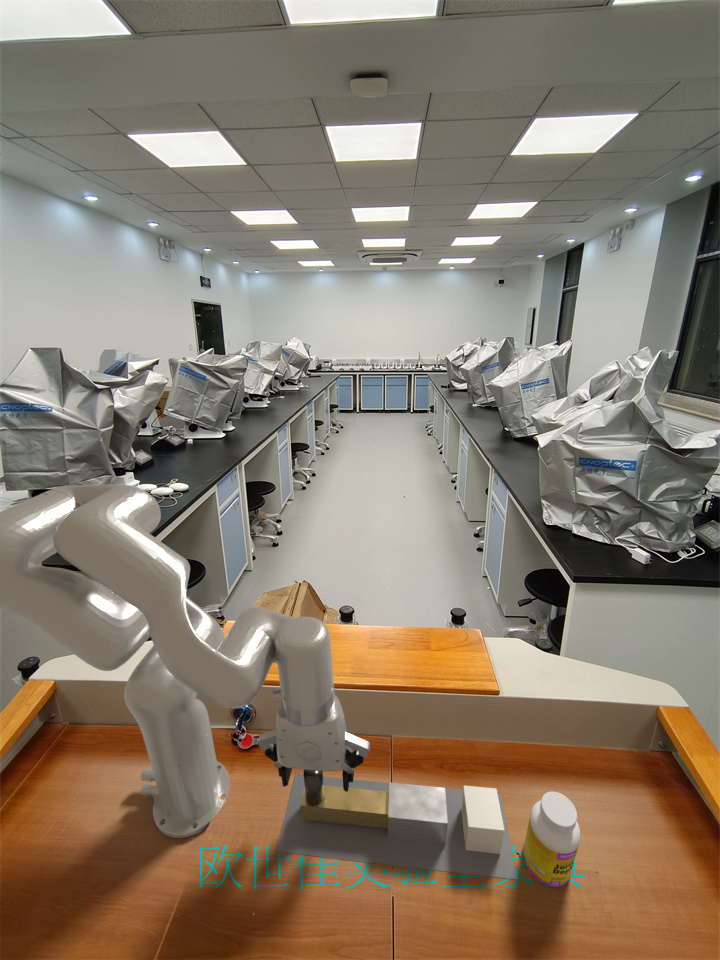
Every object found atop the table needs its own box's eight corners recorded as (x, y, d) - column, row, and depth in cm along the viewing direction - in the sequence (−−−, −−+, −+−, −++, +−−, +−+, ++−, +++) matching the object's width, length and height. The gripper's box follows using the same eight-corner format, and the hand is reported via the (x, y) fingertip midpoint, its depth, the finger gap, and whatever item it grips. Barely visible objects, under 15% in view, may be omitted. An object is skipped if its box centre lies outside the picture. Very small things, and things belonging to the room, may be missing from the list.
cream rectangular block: (465, 850, 65) (468, 826, 63) (461, 808, 71) (463, 785, 69) (500, 853, 65) (504, 830, 63) (493, 811, 70) (496, 788, 68)
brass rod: (301, 819, 69) (298, 781, 65) (306, 797, 72) (303, 760, 69) (439, 834, 66) (442, 795, 63) (437, 810, 70) (440, 773, 66)
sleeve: (387, 838, 67) (388, 817, 65) (389, 803, 71) (389, 782, 70) (445, 844, 66) (447, 823, 64) (443, 808, 71) (444, 787, 69)
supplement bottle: (548, 902, 60) (562, 845, 56) (512, 853, 66) (523, 798, 61) (579, 875, 63) (595, 819, 58) (543, 830, 68) (555, 776, 64)
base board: (277, 856, 66) (276, 851, 65) (295, 778, 77) (295, 773, 76) (516, 884, 62) (517, 879, 62) (499, 798, 73) (500, 793, 73)
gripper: (241, 717, 59) (256, 800, 65) (365, 725, 57) (369, 809, 63) (259, 675, 66) (271, 753, 72) (370, 681, 64) (373, 760, 70)
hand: (317, 779), depth 67 cm, fingers open, 9 cm apart
